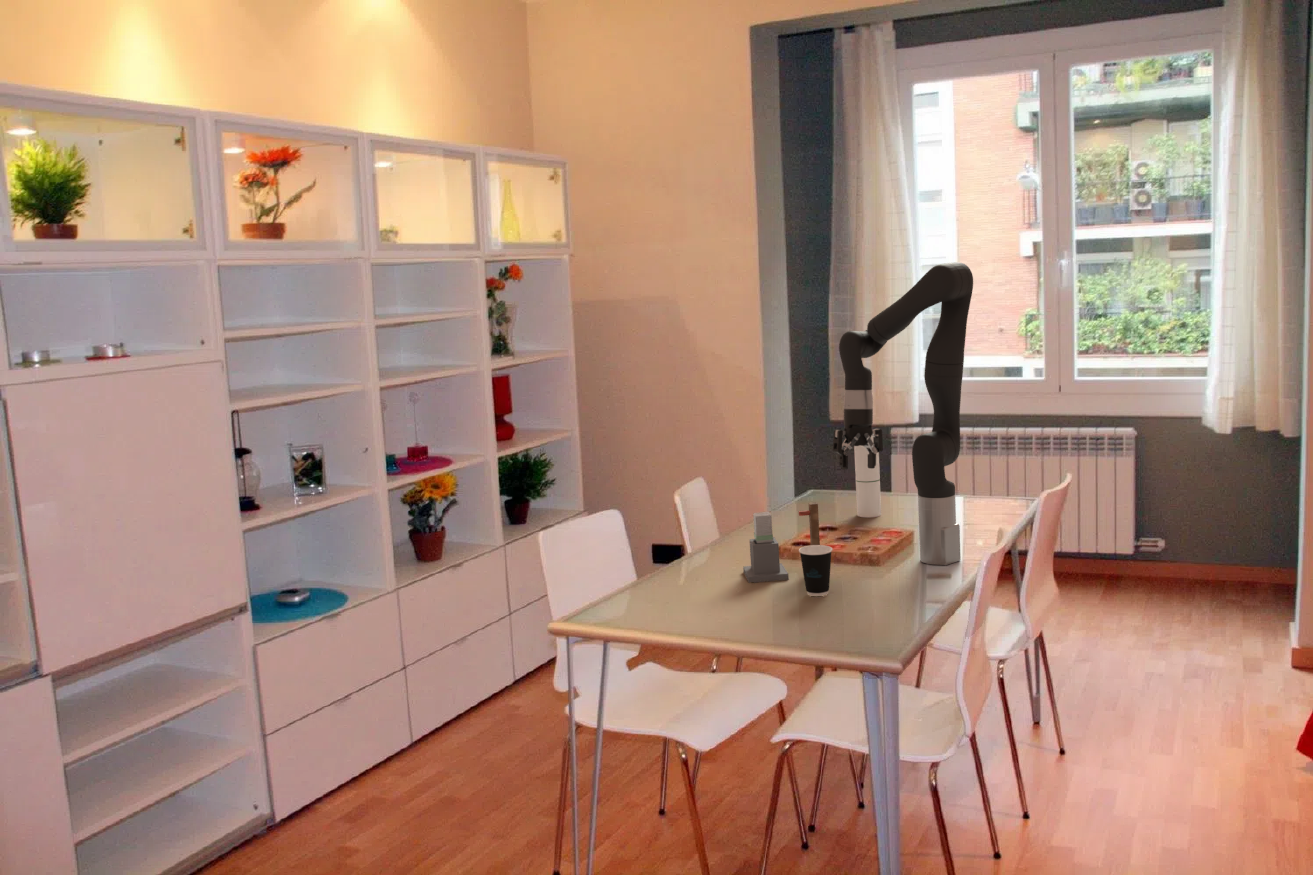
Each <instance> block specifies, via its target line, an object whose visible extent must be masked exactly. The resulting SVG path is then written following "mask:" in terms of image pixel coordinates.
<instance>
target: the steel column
mask: <svg viewBox="0 0 1313 875" xmlns="http://www.w3.org/2000/svg"><path fill="white" fill-rule="evenodd" d="M752 516H753V529H754V530H753V531H754V532H753V537H754V539H755V544H766V543H773V537H774V535H773V520H772V514H771V513H770V511H763V512H753V515H752Z"/></svg>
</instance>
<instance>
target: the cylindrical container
mask: <svg viewBox="0 0 1313 875" xmlns="http://www.w3.org/2000/svg"><path fill="white" fill-rule="evenodd" d="M871 440H872V442H873V436H871ZM853 448H854V451H853V452H854V469H855V470H854V471H855V472H854V473H855V495H856V496H855V497H856V515H857V517H861V518H876V517H880V516H881V515H882V505H881V504H882V503H881V501H882V500H881V481H880V480H881V479H880V478H881V477H880V474H881V473H880V452H878V453H877V454H876V466H875V468H872V469H871V468H868V454H869V453H868V451H867V450H866V448H865V447H864V446H853Z"/></svg>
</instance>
